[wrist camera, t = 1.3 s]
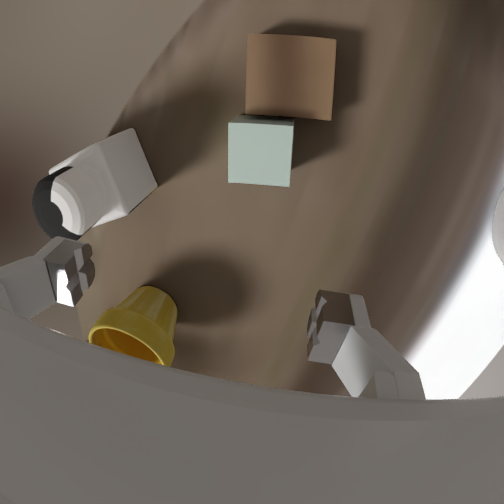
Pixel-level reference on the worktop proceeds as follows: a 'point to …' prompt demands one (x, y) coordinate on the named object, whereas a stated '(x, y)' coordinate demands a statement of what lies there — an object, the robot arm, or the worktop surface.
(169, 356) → the plant pot
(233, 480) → the robot arm
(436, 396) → the worktop surface
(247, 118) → the cube
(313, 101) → the block
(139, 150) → the medicine bottle
